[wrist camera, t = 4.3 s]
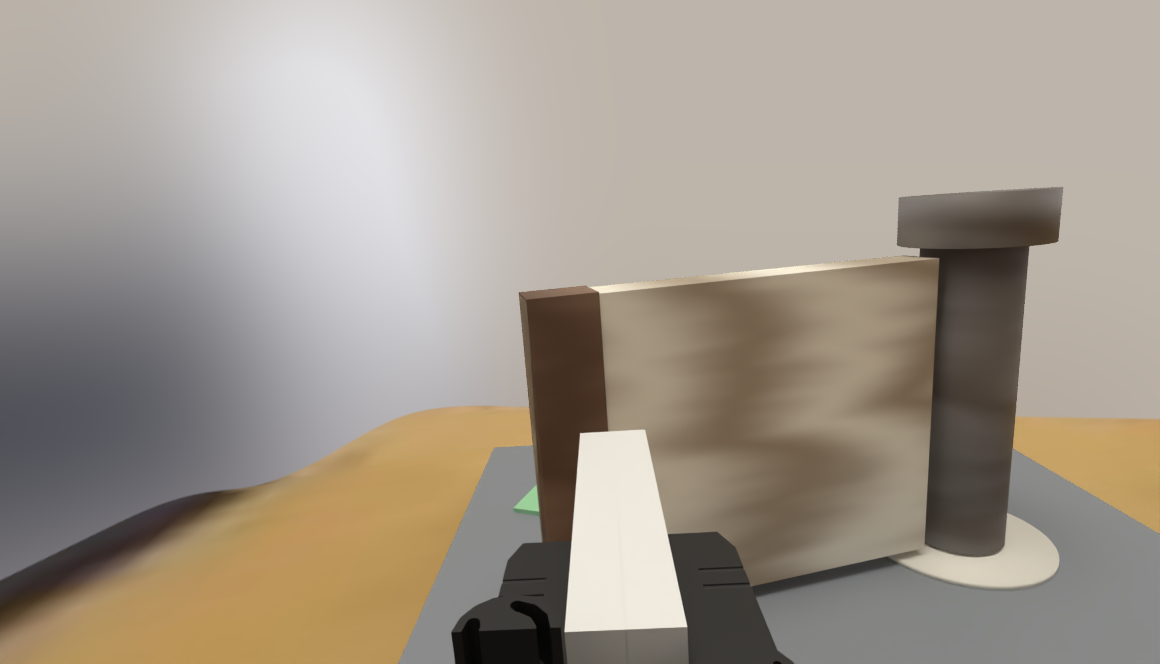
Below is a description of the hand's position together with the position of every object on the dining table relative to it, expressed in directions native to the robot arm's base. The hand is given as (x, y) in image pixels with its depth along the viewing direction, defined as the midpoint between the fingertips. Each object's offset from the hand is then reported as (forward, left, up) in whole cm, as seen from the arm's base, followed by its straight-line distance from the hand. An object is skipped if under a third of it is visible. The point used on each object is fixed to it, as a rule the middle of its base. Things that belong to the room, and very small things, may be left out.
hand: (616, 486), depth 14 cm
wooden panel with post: (-6, -6, -6) cm, 10 cm away
